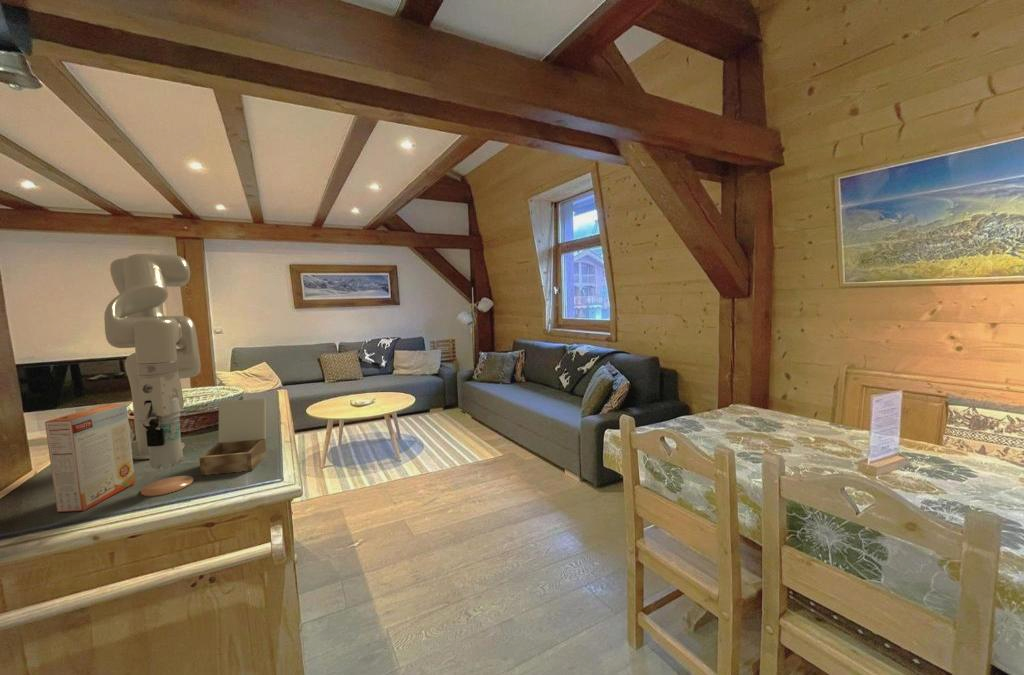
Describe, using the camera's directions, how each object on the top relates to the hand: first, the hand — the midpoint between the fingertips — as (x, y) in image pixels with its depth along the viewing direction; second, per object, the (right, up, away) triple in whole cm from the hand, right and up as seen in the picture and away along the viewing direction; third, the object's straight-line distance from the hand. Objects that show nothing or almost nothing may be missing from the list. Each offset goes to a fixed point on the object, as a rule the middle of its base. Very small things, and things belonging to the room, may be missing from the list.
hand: (164, 440), depth 100 cm
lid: (+6, -10, +22) cm, 25 cm away
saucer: (0, -12, +1) cm, 12 cm away
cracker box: (-12, -13, -4) cm, 18 cm away
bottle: (0, -7, 0) cm, 7 cm away
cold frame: (+8, -11, +15) cm, 20 cm away
